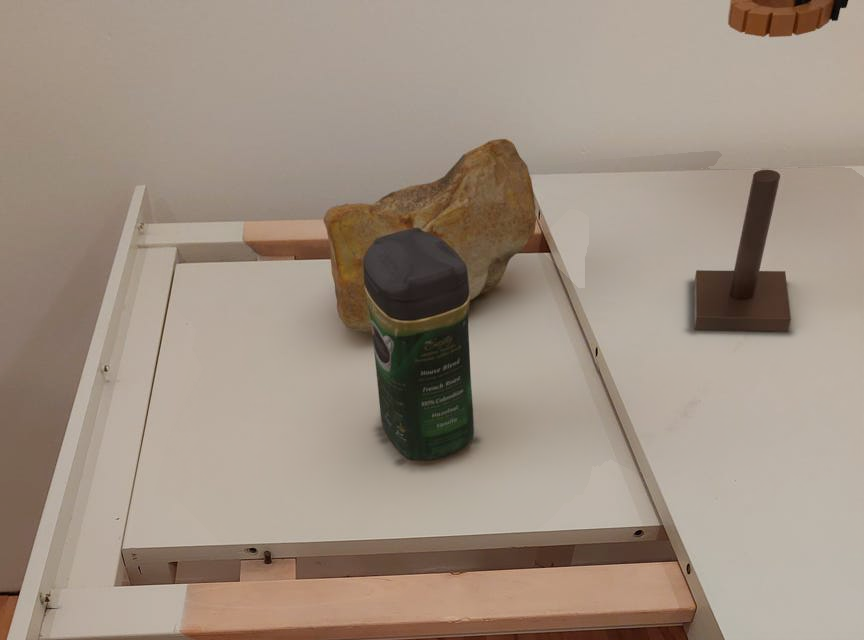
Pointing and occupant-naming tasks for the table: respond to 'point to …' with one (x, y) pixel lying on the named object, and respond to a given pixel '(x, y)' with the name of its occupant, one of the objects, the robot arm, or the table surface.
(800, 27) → the ring
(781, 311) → the post stand
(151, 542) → the table surface
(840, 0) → the robot arm
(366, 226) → the rough brown rock
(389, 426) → the coffee jar
